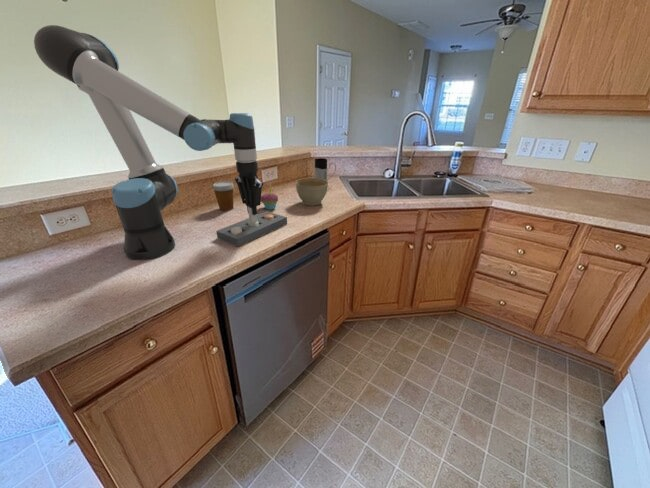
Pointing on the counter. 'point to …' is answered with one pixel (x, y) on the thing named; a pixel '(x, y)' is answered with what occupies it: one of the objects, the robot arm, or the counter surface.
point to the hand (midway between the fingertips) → (253, 221)
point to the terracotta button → (268, 216)
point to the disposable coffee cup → (224, 195)
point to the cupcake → (269, 200)
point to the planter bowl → (311, 190)
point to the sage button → (253, 224)
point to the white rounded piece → (236, 230)
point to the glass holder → (322, 168)
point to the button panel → (251, 229)
